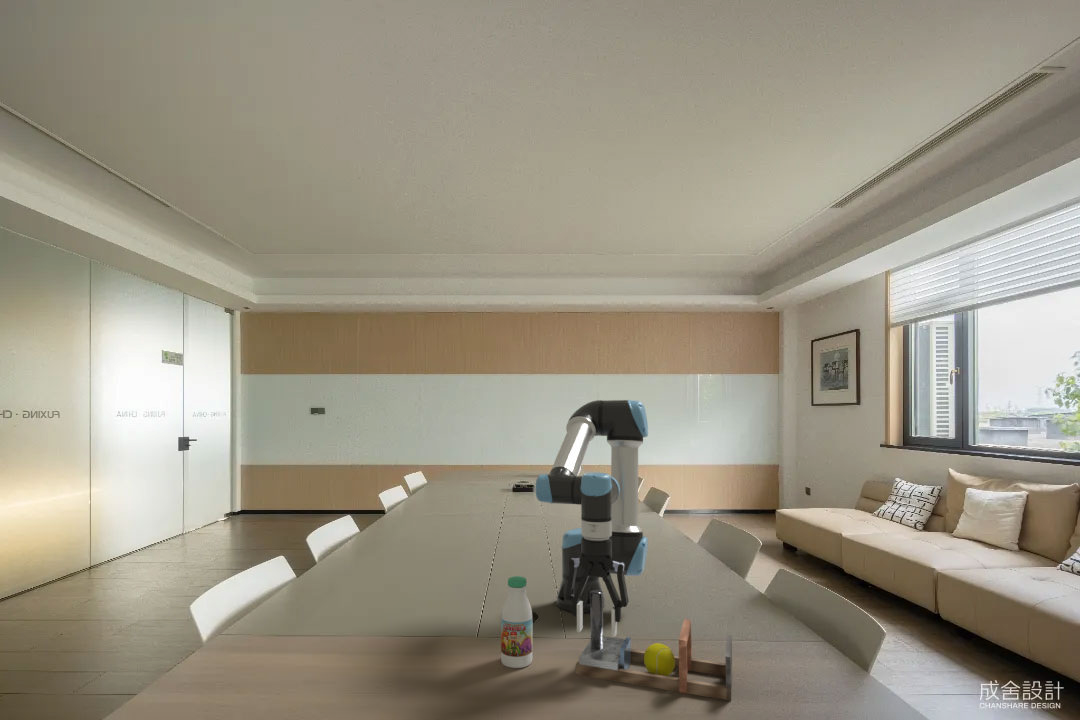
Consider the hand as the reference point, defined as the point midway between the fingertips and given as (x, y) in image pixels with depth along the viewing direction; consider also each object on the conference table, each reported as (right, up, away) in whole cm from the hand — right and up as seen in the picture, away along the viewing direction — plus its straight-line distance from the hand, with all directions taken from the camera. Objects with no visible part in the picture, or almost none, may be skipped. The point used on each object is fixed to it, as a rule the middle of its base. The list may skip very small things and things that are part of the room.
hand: (596, 632), depth 138 cm
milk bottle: (-20, -8, +1) cm, 21 cm away
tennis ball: (+14, -8, -6) cm, 17 cm away
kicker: (+2, -8, -1) cm, 8 cm away
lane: (+13, -7, -5) cm, 16 cm away
